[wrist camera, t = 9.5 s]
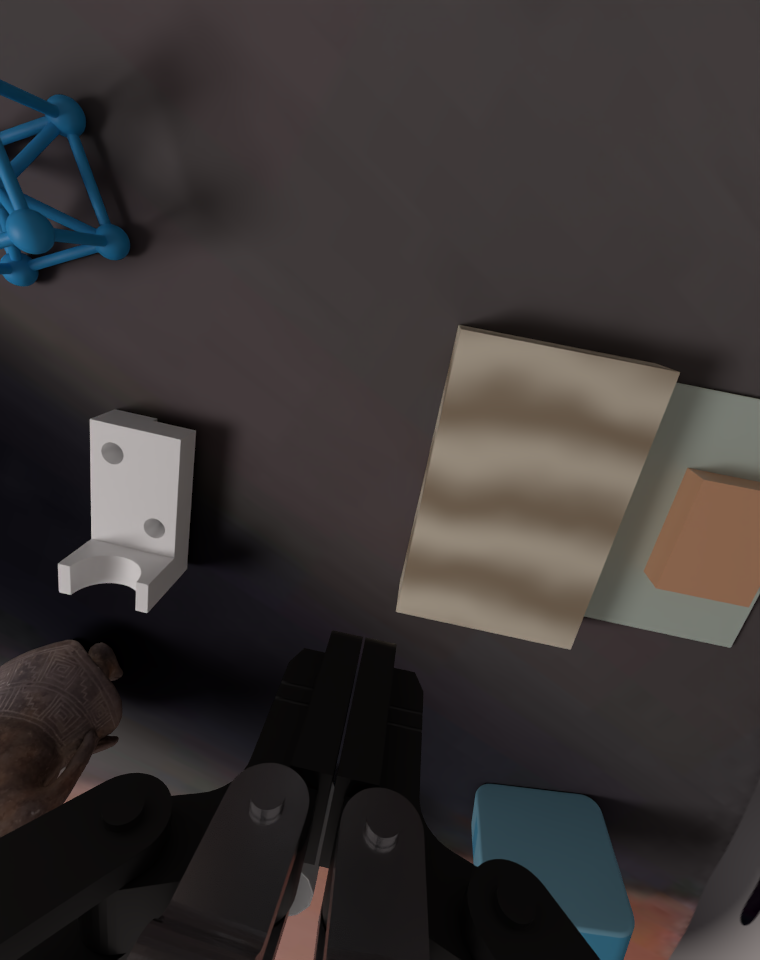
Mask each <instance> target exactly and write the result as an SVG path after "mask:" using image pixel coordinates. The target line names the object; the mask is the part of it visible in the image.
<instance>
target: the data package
mask: <svg viewBox="0 0 760 960" xmlns="http://www.w3.org/2000/svg"><path fill="white" fill-rule="evenodd" d="M472 842H473V859H474V865H475V866H477V867H478V866H479V865H481V864H482V863H484V862H486V861H488V860H492V859H505V860H510V861H513V862H516V863H518V864H520V865H522V866H523V867H525V868H526V869H528V870H529V871H530V872H532V873H533V874H534V875H535V876H536V877H537V878H538V879H539V880H540V881H541V882H542V884H543V885H544V886H545V887H546V889H547V890H548V891H549V893H550V894H551V895H552V897H553V898H554V899H555V900H556V902H557V903H558V904H559V906H560V907H561V908H562V910H563V911H564V912H565V914H566V915H567V916H568V918H569V919H570V920H571V922H572V923H573V924H574V925H575V927H576V928H577V929H578V931H579V932H580V933H581V935H582V936H583V937H584V939H585V940H586V941H587V943H588V944H589V945H590V946H591V948H592V949H593V950H594V952H595V953H596V954H597V956H598V957H599V958H600V960H623V959H624V956H625V953H626V950H627V947H628V944H629V941H630V938H631V935H632V932H633V929H634V916H633V912H632V909H631V906H630V903H629V899H628V896H627V893H626V890H625V886H624V883H623V880H622V877H621V873H620V870H619V867H618V864H617V860H616V857H615V854H614V851H613V847H612V844H611V841H610V838H609V834H608V831H607V828H606V825H605V821H604V818H603V815H602V812H601V809H600V808H599V806H598V805H597V803H596V802H595V801H593V800H592V799H591V798H589V797H587V796H585V795H582V794H574V793H566V792H557V791H549V790H540V789H532V788H523V787H515V786H506V785H498V784H484V785H482V786H480V787H479V788H478V790H477V791H476V795H475V802H474V810H473V817H472Z"/></svg>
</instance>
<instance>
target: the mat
mask: <svg viewBox="0 0 760 960" xmlns="http://www.w3.org/2000/svg"><path fill="white" fill-rule="evenodd" d="M687 468H691V469H696V470H702V471H707V472H712V473H717V474H722V475H727V476H732V477H737V478H742V479H747V480H752V481H757V482H760V399H757V398H752V397H747V396H742V395H737V394H732V393H727V392H722V391H717V390H712V389H707V388H702V387H697V386H691V385H686V384H681V383H676V385H675V387H674V390H673V392H672V395H671V397H670V400H669V402H668V405H667V407H666V410H665V412H664V415H663V418H662V420H661V423H660V425H659V428H658V430H657V433H656V435H655V438H654V440H653V443H652V445H651V448H650V450H649V453H648V455H647V458H646V460H645V463H644V466H643V468H642V471H641V473H640V476H639V478H638V481H637V483H636V486H635V488H634V491H633V493H632V496H631V498H630V501H629V503H628V506H627V508H626V511H625V514H624V516H623V519H622V521H621V524H620V526H619V529H618V531H617V534H616V536H615V539H614V541H613V544H612V546H611V549H610V551H609V554H608V556H607V559H606V562H605V564H604V567H603V569H602V572H601V574H600V577H599V579H598V582H597V584H596V587H595V589H594V592H593V594H592V597H591V599H590V602H589V604H588V607H587V610H586V612H585V615H584V616H585V617H589V618H594V619H599V620H603V621H608V622H613V623H617V624H622V625H627V626H631V627H636V628H640V629H645V630H650V631H654V632H659V633H664V634H668V635H673V636H678V637H682V638H687V639H692V640H696V641H701V642H706V643H710V644H715V645H720V646H724V647H729V648H731V646H732V644H733V642H734V641H735V639H736V637H737V635H738V633H739V631H740V630H741V628H742V626H743V624H744V622H745V620H746V618H747V617H748V615H749V613H750V611H751V609H752V607H753V605H754V604H755V602H756V600H757V598H758V596H759V594H760V587H759V589H758V591H757V593H756V595H755V597H754V599H753V601H752V602H751V604H750V606H749V607H744V606H739V605H734V604H729V603H724V602H720V601H715V600H710V599H705V598H700V597H695V596H690V595H686V594H681V593H676V592H671V591H666V590H661V589H656V588H655V587H654V585H653V584H652V582H651V581H650V580H649V578H648V577H647V575H646V574H645V573H644V569H645V567H646V564H647V562H648V560H649V557H650V555H651V553H652V550H653V548H654V545H655V543H656V541H657V538H658V536H659V534H660V531H661V529H662V527H663V524H664V522H665V519H666V517H667V515H668V512H669V510H670V508H671V505H672V503H673V501H674V498H675V496H676V493H677V491H678V489H679V486H680V484H681V482H682V479H683V477H684V475H685V472H686V470H687Z"/></svg>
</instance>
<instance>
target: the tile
mask: <svg viewBox="0 0 760 960" xmlns="http://www.w3.org/2000/svg"><path fill="white" fill-rule="evenodd" d="M644 573H645V574H646V575H647V577H648V578H649V580H650V581H651V582H652V584H653V585H654V587H655V588H656V589H661V590H666V591H671V592H676V593H681V594H686V595H690V596H695V597H700V598H705V599H710V600H715V601H720V602H724V603H729V604H734V605H739V606H744V607H749V606H750V604H751V602H752V601H753V599H754V597H755V595H756V593H757V591H758V589H759V587H760V482H757V481H752V480H747V479H742V478H737V477H732V476H727V475H722V474H717V473H712V472H707V471H702V470H696V469H691V468H687V470H686V472H685V475H684V477H683V479H682V482H681V484H680V486H679V489H678V491H677V493H676V496H675V498H674V501H673V503H672V505H671V508H670V510H669V512H668V515H667V517H666V519H665V522H664V524H663V527H662V529H661V531H660V534H659V536H658V538H657V541H656V543H655V545H654V548H653V550H652V553H651V555H650V557H649V560H648V562H647V564H646V567H645V569H644Z"/></svg>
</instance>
